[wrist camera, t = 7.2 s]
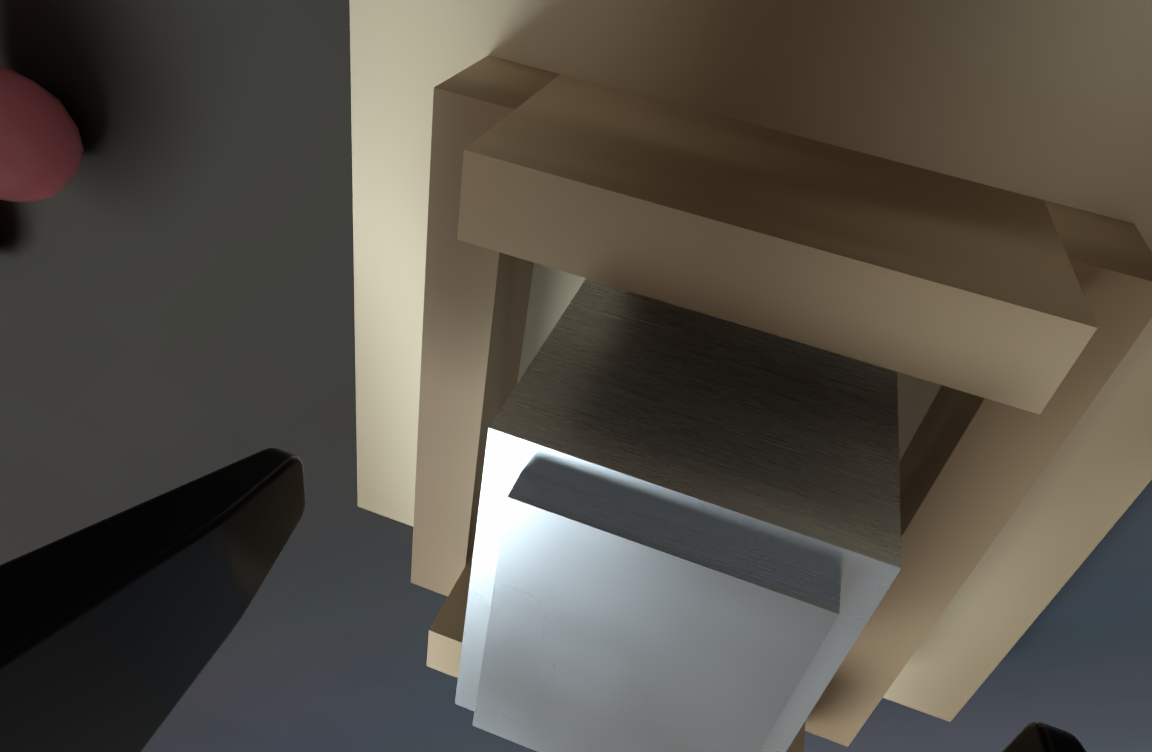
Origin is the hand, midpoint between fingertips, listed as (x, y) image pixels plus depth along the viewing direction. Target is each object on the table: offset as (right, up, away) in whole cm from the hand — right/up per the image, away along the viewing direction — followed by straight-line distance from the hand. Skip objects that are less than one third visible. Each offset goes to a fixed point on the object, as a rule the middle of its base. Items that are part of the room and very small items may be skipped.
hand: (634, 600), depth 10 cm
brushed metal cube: (+1, +2, +3) cm, 4 cm away
